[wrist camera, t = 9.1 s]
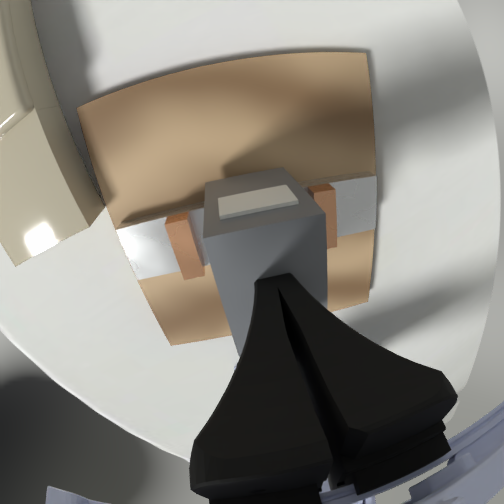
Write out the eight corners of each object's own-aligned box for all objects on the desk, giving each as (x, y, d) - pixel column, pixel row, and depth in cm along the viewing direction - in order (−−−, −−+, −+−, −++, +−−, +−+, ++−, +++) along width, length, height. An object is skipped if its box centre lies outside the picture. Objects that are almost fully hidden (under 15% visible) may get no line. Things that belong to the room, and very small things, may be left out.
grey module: (294, 263, 17) (326, 336, 12) (229, 277, 17) (239, 356, 12) (282, 164, 14) (325, 208, 9) (204, 179, 14) (201, 234, 9)
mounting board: (363, 293, 22) (368, 301, 22) (171, 336, 22) (171, 345, 21) (357, 54, 13) (365, 53, 12) (83, 106, 12) (76, 107, 12)
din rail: (368, 221, 18) (383, 236, 16) (140, 270, 17) (134, 290, 16) (368, 170, 16) (385, 181, 14) (120, 222, 15) (110, 238, 14)
